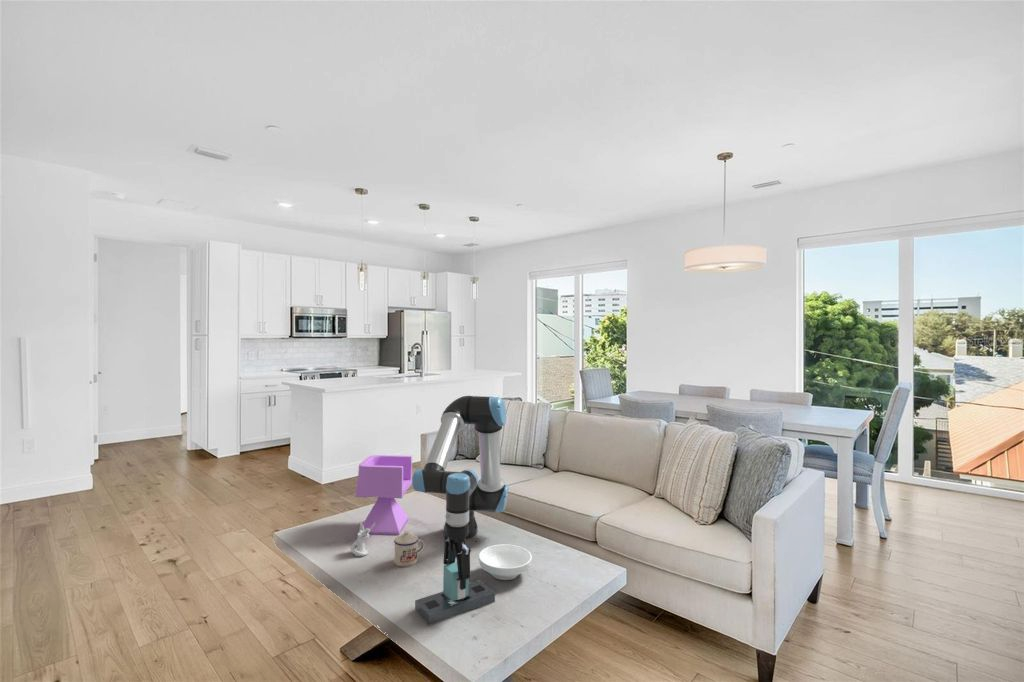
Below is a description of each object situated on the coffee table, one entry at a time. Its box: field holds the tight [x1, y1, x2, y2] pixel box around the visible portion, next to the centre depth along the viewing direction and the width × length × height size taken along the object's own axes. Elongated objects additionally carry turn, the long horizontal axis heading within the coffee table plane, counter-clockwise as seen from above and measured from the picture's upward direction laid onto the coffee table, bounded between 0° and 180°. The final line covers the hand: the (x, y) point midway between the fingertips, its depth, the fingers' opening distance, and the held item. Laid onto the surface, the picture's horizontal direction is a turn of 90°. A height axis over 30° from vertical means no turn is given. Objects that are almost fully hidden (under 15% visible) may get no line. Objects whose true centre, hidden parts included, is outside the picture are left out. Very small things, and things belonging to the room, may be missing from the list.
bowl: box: [478, 543, 533, 581], centre depth 179 cm, size 20×20×7 cm
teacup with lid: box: [393, 530, 425, 568], centre depth 188 cm, size 12×9×12 cm
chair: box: [355, 454, 413, 536], centre depth 221 cm, size 20×20×30 cm
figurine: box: [350, 521, 375, 557], centre depth 195 cm, size 11×8×12 cm
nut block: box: [442, 561, 470, 602], centre depth 158 cm, size 6×6×9 cm
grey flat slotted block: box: [414, 579, 496, 626], centre depth 158 cm, size 24×10×3 cm, turn 125°
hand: (455, 593), depth 158 cm, fingers closed on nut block, 6 cm apart
